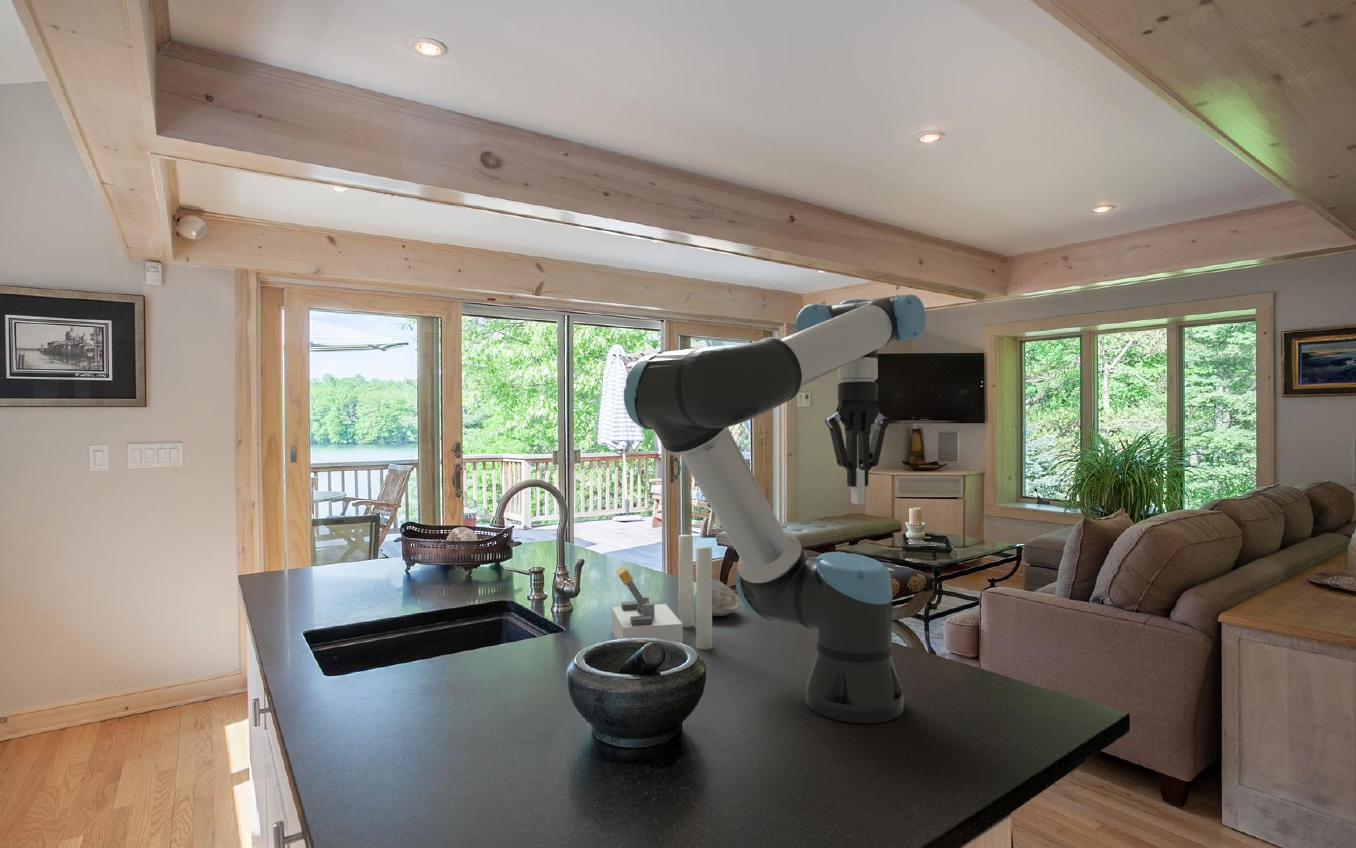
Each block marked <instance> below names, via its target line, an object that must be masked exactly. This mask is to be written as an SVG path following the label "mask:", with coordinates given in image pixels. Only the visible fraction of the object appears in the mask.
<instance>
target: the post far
mask: <svg viewBox="0 0 1356 848" xmlns="http://www.w3.org/2000/svg"><path fill="white" fill-rule="evenodd" d="M677 545H678V546H677V547H678V551H677V552H678V561H677V562H678V619H679V620H680V621H681V622H682V624H683V629H686V628H692V627H693V626H694V535H692V534H679V535H678V544H677Z"/></svg>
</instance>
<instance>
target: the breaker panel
mask: <svg viewBox="0 0 1356 848" xmlns="http://www.w3.org/2000/svg"><path fill="white" fill-rule="evenodd" d="M642 597H643V598H644V600H645V601H646V602H648V604H642V611H641V609H640V607H639V603H638V602H637V600H633V601H621V602H620V604H621V606H613V607H611V631H612V633H613V635H614V638H615V639H616V638H630V637H648V638H658V639H666V640H670V641H679V642H682V643H683V641H684V638H683V635H684V634H683V633H684V631H683V629H684V628H683V624H682V622H681V621H680V620H679V617H677V615H676V614H675V613H674V611H672V609H671V608H670V607H669V606H668V605H667V604H666V603H663V604H660V603H659V604H655V603H650V597H649V596H642Z"/></svg>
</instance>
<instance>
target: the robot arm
mask: <svg viewBox="0 0 1356 848" xmlns="http://www.w3.org/2000/svg"><path fill="white" fill-rule="evenodd" d="M794 323H795V324H794V326H795V327H794V329H795V333H792V334H789V335H788V336H785V337H783V338H781V339H780V338H777V337H765V338H761V339H758V340H757V341H753V342H747V343H746V342H745V343H739V344H727V345H712V346H711V345H709V346H703V347H695V348H687V349H681V350H680V349H679V350H678V349H677V350H670V349H669V350H667V349H663V350H659V351H657V352H654V353H650V354H647V355H644V356H642V357H640V358H639V359H638V360H637V361H635V363H634V364H633V365H632V367H630V369H629V372H628V374H627V375H626V379H625V388H624V389H623V401H624V403H623V404H624V407H625V410H626V413H627V414H628V416H629V418H630V419H631V420H632V421H633V422H634V423H635V425H636V426H639V427H641V428H643V429H645V430H653V431H654V433H655V434H656V436H657V437H658V439H659V441H660V442H661V444H662V447H663V448H664V449H665V451H667V453H670V454H673V455H674V454H675V455H679V456H680V457H681V459H682V461H683V462H684V464H685V466H686V468H687V469H688V471H689V473H690V474H691V476H692V478H693V479H694V481H695V483H696V485H697V487H698V488H699V490H700V491H701V493H702V495H703V497H704V498H705V500H706V501H707V504H708V505H709V506H710V507H709V508H710V509H711V511H712V512H713V513H714V516H715V518H716V519H717V520H718V522H719V524H720V526H721V528H722V529H723V531H724V533H725V534H726V536H727V538H728V540H729V541H730V543H731V544H732V546H733V548H734V550H735V552H736V553H737V555H738V557H739V558H738V561H737V566H736V567H737V570H736V576H735V579H736V580H737V581H738V583H737V584H736V585H735V587H736V592H737V595H738V597H739V600H740V603H742V604H743V606H744V607H745V608H746V609H747V610H748V611H749V612H751V613H752V614H754V615H757V616H759V617H761V618H763V619H766V620H770V621H775V622H780V623H783V624H788V625H792V626H795V627H800V628H803V629H807V630H811V631H815V632H816V655H815V658H814V661H813V665H812V667H811V671H810V674H809V677H808V680H807V683H806V686H805V704H806V705H807V707H808V708H809V709H811V711H813V712H815V714H816V713H817V715H820V716H823V717H826V718H828V719H831V720H835V721H838V722H846V723H853V724H879V723H885V722H888V721H892V720H895V719H897V718H899V717H901V715H902V714H903V712H904V694H903V690H902V686H901V684H900V681H899V677H898V674H897V671H896V669H895V665H894V662H893V658H892V656H893V654H892V653H893V652H892V650H893V649H892V647H893V645H892V644H893V643H892V642H893V641H892V638H893V637H892V636H893V635H892V633H893V632H892V628H893V627H892V625H893V598H894V594H893V589H892V576H891V572H890V571H889V569H888V568H887V567H886V565H885V564H883V563H882V562H881V561H879V560H877V559H875V558H871V557H869V556H866V555H862V554H857V553H847V552H843V551H842V552H841V551H830V552H824V553H821V554H819V556H818V557H816V558H814V557H810V556H808V554H807V552H806V551H805V549H804V547H803V545H802V543H801V542H800V540H799V539H798V538H797V536H795V535H794V534H792V533H789V532H784V529H783V527H782V525H781V523H780V521H779V519H778V518H777V516H776V514H775V512H774V510H773V508H772V507H771V505H770V503H769V501H768V499H767V498H766V495H765V494H764V492H763V490H762V488H761V487H760V486H761V485H760V484H759V483H758V480H757V479H756V477H755V475H754V473H753V471H752V469H751V468H750V466H749V464H748V462H747V461H746V460H747V459H745V456H744V455H743V453H742V451H741V449H740V448H739V446H738V444H737V442H736V440H735V438H734V436H733V435H732V432H731V430H730V428H731V427H732V426H736V425H739V424H741V423H742V424H743V423H744V422H748V421H749V420H752V419H754V418H757V417H759V416H761V415H763V414H765V413H768V412H769V411H771V410H774V409H776V408H777V407H780V406H781V405H783V404H786V403H787V402H789V401H791V400H792V399H795V397H796V396H797V395H798V394H799V392H801V389H802V387H803V386H805V385H807V384H810V383H811V382H814V381H816V380H818V379H820V378H821V377H824V376H826V375H828V374H830V373H831V372H832V373H833V372H835V370H837V379H838V380H839V381H840V382H839V383H838V384H837V407H836V410H835V413H833V415H831V416H829V417H825V418H824V423H825V424H826V426H827V427H828V430H829V431H830V437H831V441H832V445H833V449H834V454H835V459H836V463H837V466H838V467H841V468H844V469H846V483H847V487H850V503H851V504H854V505H865V503H866V501H865V500H866V497H865V496H866V495H865V494H866V493H865V491H866V488H865V487H868V486H869V471H870V470H872V468H873V467H878V465H879V461H880V456H881V452H882V447H883V444H884V438H885V434H886V429H887V428H888V427H889V425H890V423H891V418H890V417H888V416H886V417H885V416H884V415H883V414H881V413H880V409H879V407H878V399H879V386H878V385H879V384H878V383H877V382H876V380H878V379H879V375H878V373H879V371H878V370H879V369H878V367H879V365H878V358H879V357H878V350H879V349H880V348H882V347H885V346H886V345H888V344H890V343H893V342H899V341H900V342H901V341H902V342H906V341H909V340H914V339H918V338H919V337H920V336H922V333H924V330H925V327H926V323H927V315H926V309H925V305H924V303H923V302H922V300H921V299H920V297H918V296H917V295H915V294H910V293H909V294H901V295H900V294H896V295H894V296H893V295H892V296H888V297H887V296H886V297H881V298H875V299H861V298H860V299H859V298H858V299H846V300H844V301H843V300H842V301H840V302H839V303H838V304H832V305H827V304H824V303H818V304H817V303H810V304H808V305H805V306H804V307H802V308H801V309H800V311H799V312H798V314H797V316H796V318H795V322H794ZM841 423H842V424H843V426H844V434H845V442H844V436H843V432H842V431H843V430H842V428H841V426H840V425H841ZM873 423H874V424H875V425H874V427H873V430H872V425H873ZM871 434H872V435H871ZM870 435H871V440H870Z"/></svg>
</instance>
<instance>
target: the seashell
mask: <svg viewBox="0 0 1356 848" xmlns="http://www.w3.org/2000/svg"><path fill="white" fill-rule="evenodd" d="M740 606H741V600H740V598H739V595H738V593H735V591H734V590H733V589H731V588H730V587H729V586H727V585H726V584H724V583H723V582H722V581H720V579H713V578H712V617H724V616H727V615H729V614H733V613H735V612H736V611H737V610H738V609H739V608H740ZM693 610H694V611H696V593H695V595H694V603H693Z"/></svg>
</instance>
